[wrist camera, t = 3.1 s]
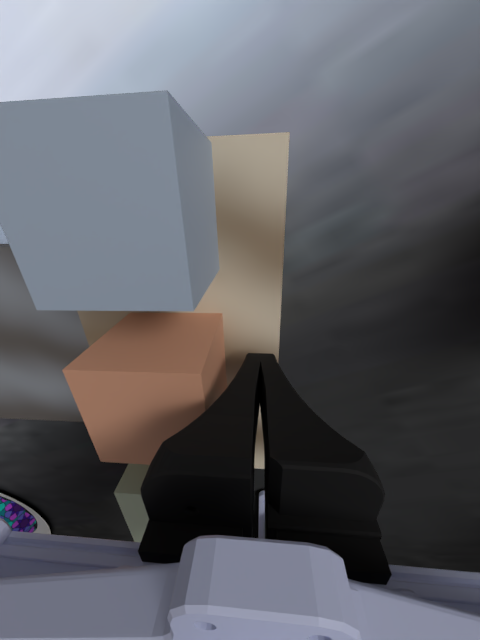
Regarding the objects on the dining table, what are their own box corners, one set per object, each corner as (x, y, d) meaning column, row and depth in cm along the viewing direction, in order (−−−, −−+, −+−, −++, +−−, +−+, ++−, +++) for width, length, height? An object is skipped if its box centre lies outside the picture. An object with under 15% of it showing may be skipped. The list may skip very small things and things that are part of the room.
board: (272, 456, 19) (272, 469, 18) (20, 442, 21) (9, 453, 20) (287, 138, 10) (289, 131, 9) (-152, 160, 12) (-186, 157, 11)
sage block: (232, 465, 18) (222, 552, 14) (166, 461, 18) (135, 544, 14) (228, 415, 16) (216, 499, 11) (154, 412, 16) (113, 492, 12)
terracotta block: (227, 388, 15) (212, 468, 10) (147, 385, 15) (100, 461, 11) (222, 313, 13) (201, 373, 8) (130, 312, 13) (62, 370, 9)
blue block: (219, 269, 12) (193, 311, 7) (119, 270, 12) (36, 310, 8) (211, 142, 10) (167, 90, 5) (90, 148, 10) (-50, 105, 5)
